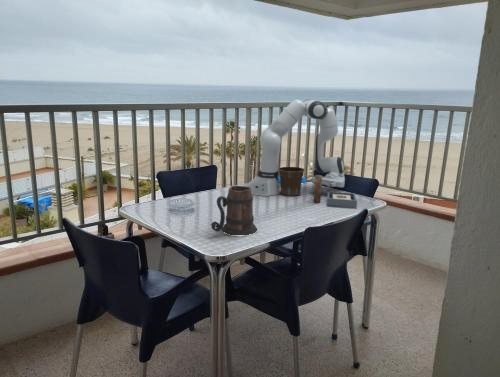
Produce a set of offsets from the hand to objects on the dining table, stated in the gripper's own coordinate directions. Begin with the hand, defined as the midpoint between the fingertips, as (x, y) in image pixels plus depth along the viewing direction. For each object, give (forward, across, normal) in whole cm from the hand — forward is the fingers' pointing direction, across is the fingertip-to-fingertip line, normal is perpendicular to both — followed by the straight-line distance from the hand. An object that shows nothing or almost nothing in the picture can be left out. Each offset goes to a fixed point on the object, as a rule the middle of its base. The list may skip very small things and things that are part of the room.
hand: (323, 184), depth 219 cm
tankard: (+76, -14, +9) cm, 78 cm away
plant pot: (+2, -21, +9) cm, 23 cm away
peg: (+10, 0, +9) cm, 14 cm away
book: (-22, -35, +10) cm, 42 cm away
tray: (+4, +13, +9) cm, 16 cm away
